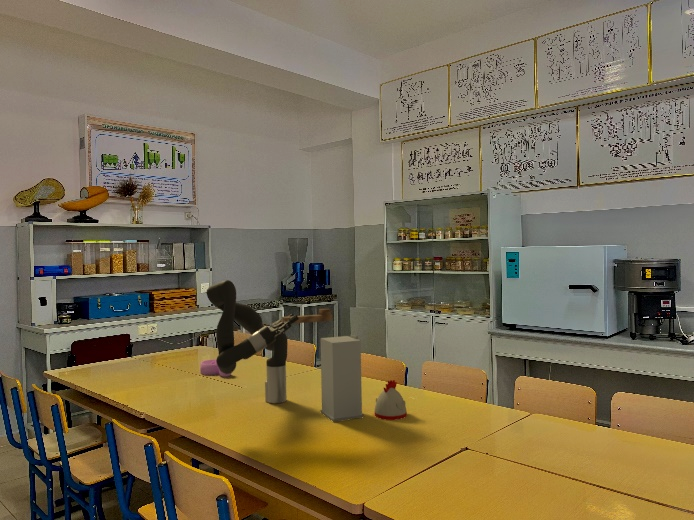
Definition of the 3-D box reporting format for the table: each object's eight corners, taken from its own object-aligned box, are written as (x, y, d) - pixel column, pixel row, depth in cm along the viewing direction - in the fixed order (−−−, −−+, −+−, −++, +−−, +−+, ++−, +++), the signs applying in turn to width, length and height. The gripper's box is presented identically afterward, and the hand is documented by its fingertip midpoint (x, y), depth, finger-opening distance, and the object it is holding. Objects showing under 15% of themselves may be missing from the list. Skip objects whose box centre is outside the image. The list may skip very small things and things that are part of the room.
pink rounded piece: (195, 372, 324) (195, 350, 324) (218, 368, 335) (217, 347, 335) (217, 379, 306) (216, 356, 306) (240, 374, 317) (239, 352, 317)
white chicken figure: (413, 414, 234) (412, 380, 233) (393, 422, 224) (392, 386, 223) (387, 408, 243) (387, 375, 243) (367, 415, 233) (367, 381, 233)
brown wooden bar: (284, 324, 222) (284, 312, 222) (281, 322, 225) (281, 311, 225) (332, 320, 230) (331, 309, 230) (328, 319, 234) (328, 308, 234)
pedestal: (333, 422, 225) (331, 340, 224) (320, 412, 238) (319, 335, 238) (363, 417, 230) (362, 337, 230) (349, 408, 244) (348, 333, 243)
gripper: (261, 344, 227) (294, 321, 233) (270, 349, 214) (305, 325, 220) (252, 329, 226) (286, 307, 231) (260, 334, 213) (296, 310, 218)
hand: (295, 316), depth 226 cm, fingers closed on brown wooden bar, 4 cm apart
